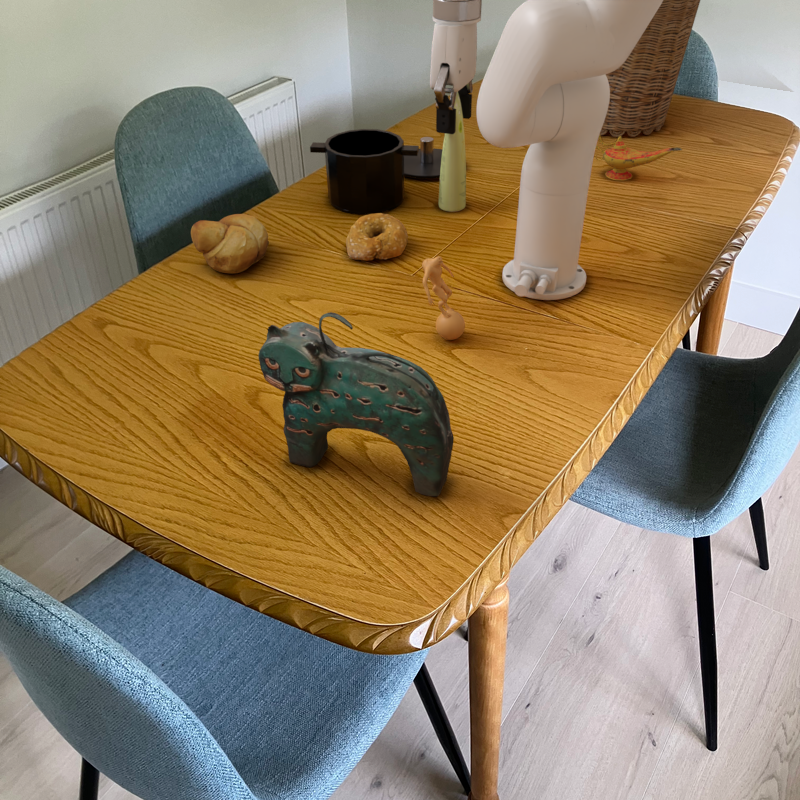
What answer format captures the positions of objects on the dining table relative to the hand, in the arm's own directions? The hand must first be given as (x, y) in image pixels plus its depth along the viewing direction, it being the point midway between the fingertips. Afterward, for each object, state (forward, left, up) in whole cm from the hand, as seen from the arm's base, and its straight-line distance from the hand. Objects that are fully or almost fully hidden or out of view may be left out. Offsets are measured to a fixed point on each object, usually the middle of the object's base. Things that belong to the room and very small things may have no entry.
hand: (453, 124), depth 129 cm
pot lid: (+16, +11, -14) cm, 24 cm away
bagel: (-20, +6, -15) cm, 26 cm away
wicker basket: (+56, -19, -15) cm, 61 cm away
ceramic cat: (-68, -14, -15) cm, 71 cm away
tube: (0, 0, -15) cm, 15 cm away
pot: (-2, +16, -15) cm, 22 cm away
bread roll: (-31, +25, -15) cm, 43 cm away
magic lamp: (+25, -27, -15) cm, 40 cm away
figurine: (-40, -13, -15) cm, 45 cm away
